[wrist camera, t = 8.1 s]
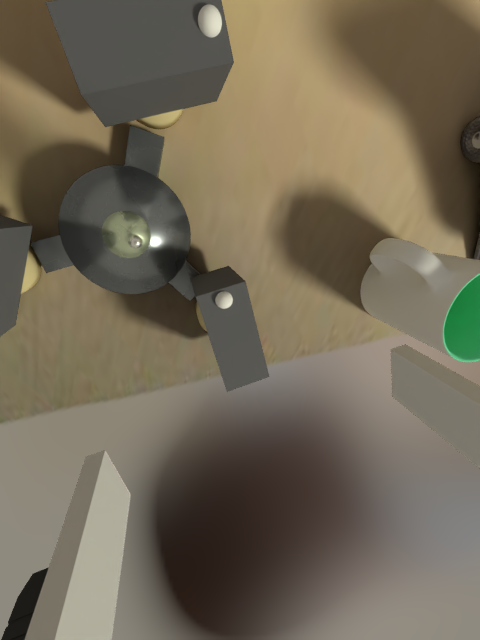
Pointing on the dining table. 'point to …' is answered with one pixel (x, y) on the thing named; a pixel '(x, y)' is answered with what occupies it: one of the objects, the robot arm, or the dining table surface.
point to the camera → (472, 154)
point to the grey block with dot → (144, 55)
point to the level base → (124, 225)
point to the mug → (425, 296)
